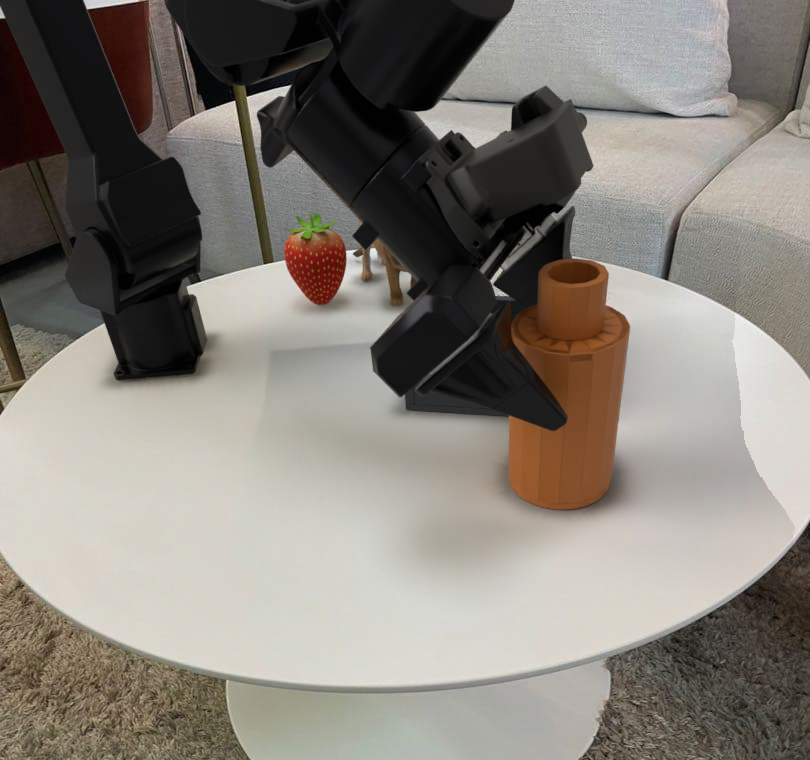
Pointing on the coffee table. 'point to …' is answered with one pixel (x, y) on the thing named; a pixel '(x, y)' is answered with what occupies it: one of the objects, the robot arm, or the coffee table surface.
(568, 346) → the bottle
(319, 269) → the fruit
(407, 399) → the box
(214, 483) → the coffee table surface
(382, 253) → the lion figurine
